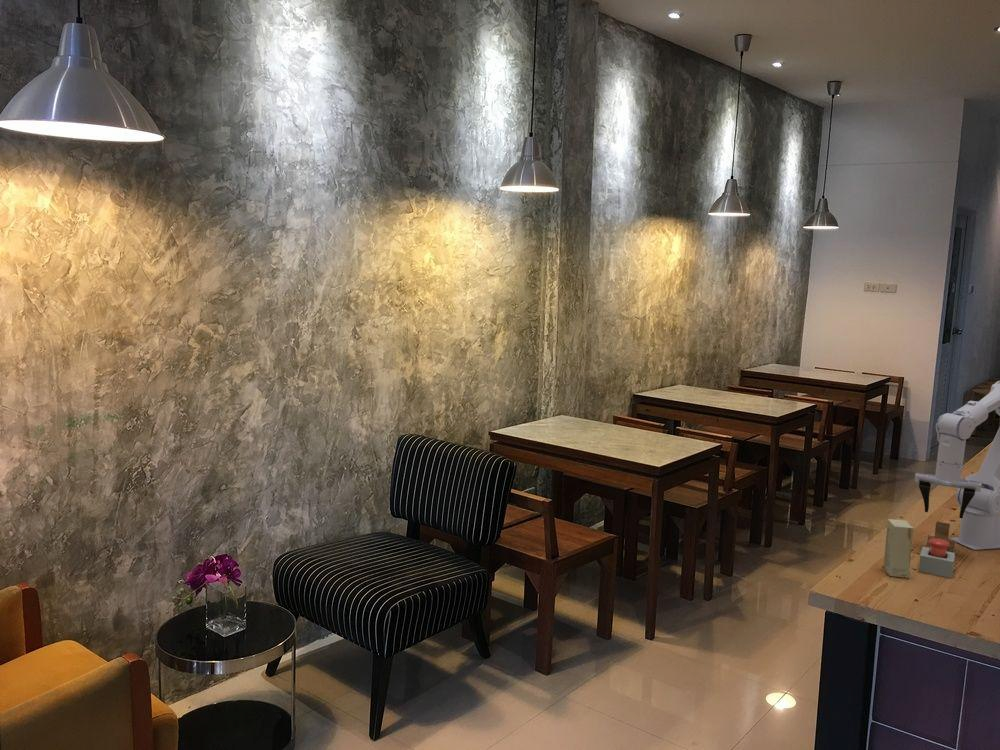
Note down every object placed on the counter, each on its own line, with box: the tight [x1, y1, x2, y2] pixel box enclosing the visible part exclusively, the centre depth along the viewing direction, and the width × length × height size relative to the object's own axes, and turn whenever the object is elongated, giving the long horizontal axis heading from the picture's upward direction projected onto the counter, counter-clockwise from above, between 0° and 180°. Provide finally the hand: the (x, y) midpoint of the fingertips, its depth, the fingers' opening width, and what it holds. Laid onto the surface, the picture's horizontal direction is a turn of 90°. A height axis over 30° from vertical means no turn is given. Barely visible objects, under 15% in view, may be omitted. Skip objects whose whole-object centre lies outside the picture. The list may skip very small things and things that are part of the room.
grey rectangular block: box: [918, 546, 956, 579], centre depth 195 cm, size 7×7×4 cm
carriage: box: [925, 521, 956, 552], centre depth 206 cm, size 6×6×7 cm
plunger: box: [929, 538, 950, 558], centre depth 194 cm, size 4×4×5 cm
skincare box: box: [882, 518, 915, 579], centre depth 192 cm, size 6×4×12 cm
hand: (943, 514), depth 205 cm, fingers open, 7 cm apart
